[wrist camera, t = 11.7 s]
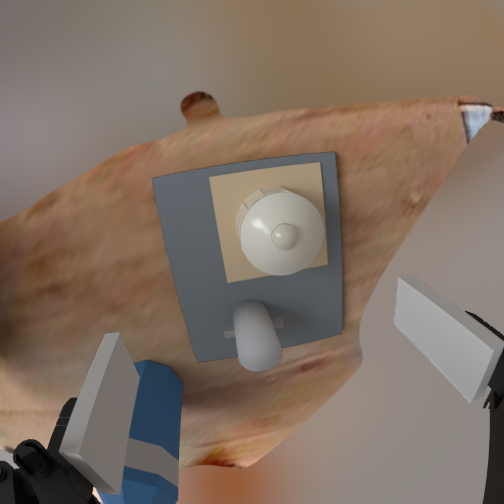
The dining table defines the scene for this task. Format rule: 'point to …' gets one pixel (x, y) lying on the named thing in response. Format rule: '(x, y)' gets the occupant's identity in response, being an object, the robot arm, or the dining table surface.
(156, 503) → the water bottle
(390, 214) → the dining table surface
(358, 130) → the dining table surface
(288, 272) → the cap
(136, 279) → the dining table surface
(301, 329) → the board
